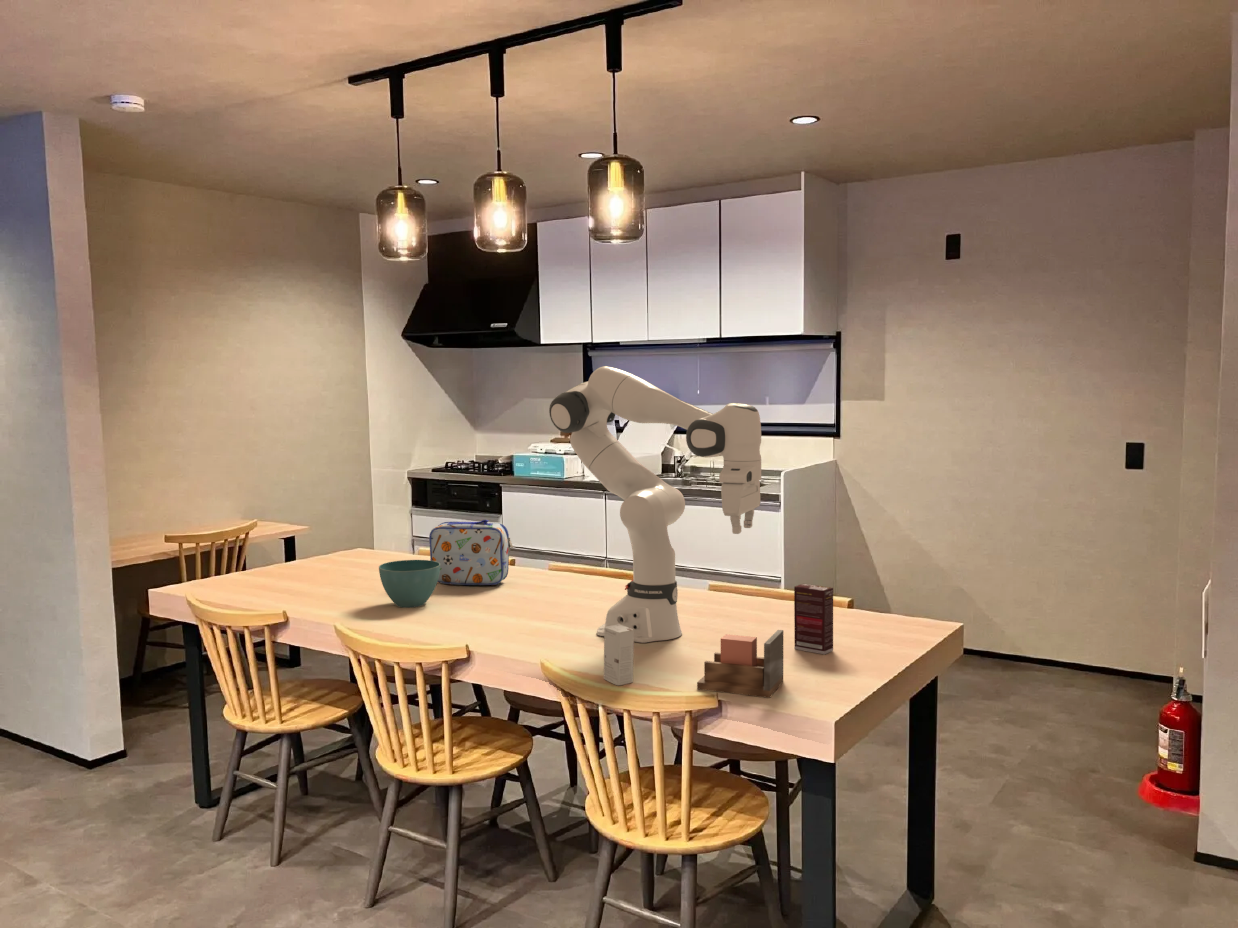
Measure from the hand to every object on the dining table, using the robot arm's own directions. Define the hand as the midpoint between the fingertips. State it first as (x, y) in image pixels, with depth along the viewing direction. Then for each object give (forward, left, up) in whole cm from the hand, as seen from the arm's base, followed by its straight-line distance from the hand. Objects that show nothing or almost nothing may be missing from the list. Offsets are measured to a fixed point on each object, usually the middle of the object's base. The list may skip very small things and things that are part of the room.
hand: (742, 530), depth 225 cm
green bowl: (-110, +20, -31) cm, 116 cm away
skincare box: (-21, -26, -31) cm, 46 cm away
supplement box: (+14, +14, -31) cm, 37 cm away
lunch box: (-109, +53, -31) cm, 125 cm away
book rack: (+5, -19, -31) cm, 37 cm away
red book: (+5, -19, -30) cm, 35 cm away
